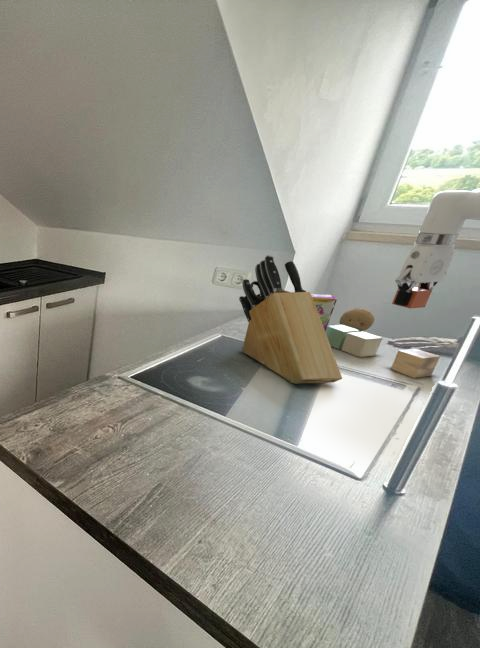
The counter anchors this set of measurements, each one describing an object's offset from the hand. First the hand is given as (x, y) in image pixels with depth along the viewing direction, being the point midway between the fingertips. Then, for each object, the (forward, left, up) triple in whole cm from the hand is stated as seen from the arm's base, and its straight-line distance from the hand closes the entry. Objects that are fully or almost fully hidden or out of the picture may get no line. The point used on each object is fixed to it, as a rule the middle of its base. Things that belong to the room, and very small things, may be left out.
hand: (408, 303), depth 113 cm
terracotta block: (0, 0, -1) cm, 1 cm away
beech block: (+4, +9, -18) cm, 20 cm away
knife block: (+35, -5, -18) cm, 39 cm away
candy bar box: (+13, -18, -18) cm, 28 cm away
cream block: (+4, -6, -18) cm, 19 cm away
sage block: (+4, -13, -18) cm, 22 cm away
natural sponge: (-9, -19, -18) cm, 28 cm away
